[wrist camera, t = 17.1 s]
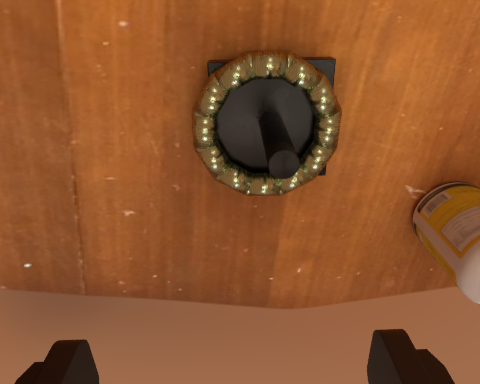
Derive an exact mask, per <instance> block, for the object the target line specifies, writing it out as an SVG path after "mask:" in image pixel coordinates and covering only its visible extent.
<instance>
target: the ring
mask: <svg viewBox="0 0 480 384" xmlns="http://www.w3.org/2000/svg"><path fill="white" fill-rule="evenodd" d="M254 79H283V80H284V81H286V82H287V83H289V84H291V85H292V86H294V87H295V88H297V89H299V90H300V91H302V92H304V93H305V94H306V97H307V99H308V101H309V103H310V105H311V107H312V109H313V111H314V113H315V115H316V120H315V130H314V140H313V142H312V144H311V145H310V146H309V148H308V149H307V151H306V152H305V153H304V155H303V156H302V158H301V159H300V167H299V170H298V171H297V173H296V174H295V175H294V176H292V177H290V178H288V179H278V178H276V177H274V176H273V175H272V174H271V173H251V172H249V171H247V170H245V169H243V168H241V167H239V166H238V165H236V164H234V163H232V162H230V160H229V159H228V157H227V156H226V154H225V152H224V151H223V149H222V148H221V146H220V144H219V143H218V137H217V116H218V114H219V112H220V111H221V109H222V107H223V105H224V103H225V102H226V100H227V98H228V96H229V94H230V93H232V92H234V91H235V90H237V89H239V88H240V87H242V86H244V85H245V84H247V83H249V82H251V81H252V80H254ZM341 116H342V110H341V107H340V105H339V102H338V100H337V98H336V96H335V93H334V91H333V89H332V87H331V84H330V82H329V80H328V78H327V76H326V75H325V73H323V72H322V71H320V70H319V69H317V68H316V67H314V66H313V65H311V64H309V63H308V62H306V61H305V60H303V59H302V58H300V57H299V56H297V55H296V54H294V53H292V52H289V51H249V52H246V53H244V54H242V55H241V56H239V57H237V58H236V59H234V60H232V61H231V62H229V63H227V64H226V65H224V66H223V67H221V68H219V69H218V70H216V71H214V72H213V73H212V74H211V75H210V76H209V78H208V80H207V82H206V84H205V86H204V88H203V89H202V91H201V93H200V95H199V97H198V99H197V101H196V103H195V105H194V107H193V109H192V126H193V143H194V149H195V151H196V153H197V154H198V156H199V157H200V159H201V160H202V162H203V163H204V165H205V166H206V168H207V169H208V171H209V172H210V174H211V175H212V177H213V178H214V179H215V180H217V181H218V182H220V183H222V184H224V185H226V186H228V187H230V188H232V189H234V190H236V191H238V192H240V193H242V194H244V195H247V196H280V195H284V194H286V193H288V192H290V191H292V190H294V189H296V188H298V187H300V186H302V185H304V184H306V183H308V182H310V181H312V180H314V179H315V178H316V177H317V175H318V174H319V173H320V171H321V170H322V169H323V167H324V166H325V165H326V163H327V162H328V161H329V159H330V158H331V157H332V155H333V154H334V153H335V151H336V149H337V146H338V138H339V131H340V123H341Z"/></svg>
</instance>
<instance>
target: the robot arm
mask: <svg viewBox="0 0 480 384" xmlns="http://www.w3.org/2000/svg"><path fill="white" fill-rule="evenodd" d="M367 376H368V382H369V384H455V383H454V381H453V380H452V378H451V376H450V375H449V373H448V371H447V369H446V368H445V366H444V365H443V364H442V363H441V362H440V361H438V359H437V358H435V357H434V356H433V355H432V354H431V353H430V352H429V351H428V350H427V349H418V350H416V349H415V347H414V345H413V343H412V342H411V340H410V338H409V336H408V334H407V333H406V331H404V330H403V329H389V330H375V331H374V333H373V338H372V342H371V348H370V353H369V359H368V365H367ZM15 384H99V375H98V372H97V369H96V365H95V362H94V359H93V356H92V353H91V350H90V346H89V344H88V342H87V340H59V341H57V342H55V343H54V344H53V346H52V347H51V349H50V351H49V353H48V355H47V357H46V358H45V360H44V362H35V363H34V364H32V365H31V366H30V367H29V368H28V369H27V370H26V372H24V373H23V374H22V375H21V376H20V377H19V378H18V379H17V381H16V382H15Z"/></svg>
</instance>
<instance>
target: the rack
mask: <svg viewBox="0 0 480 384" xmlns="http://www.w3.org/2000/svg"><path fill="white" fill-rule="evenodd" d="M302 59H303V60H305V61H306V62H308V63H309V64H311V65H313V66H314V67H316V68H317V69H319V70H320V71H322V72H323V73H325V75H326V76H327V78H328V80H329V82H330V84H331V87H332V89H333V84H334V73H335V62H336V59H335V58H333V57H306V58H302ZM231 61H232V60H209V61H208V78H209V76H210V75H211V74H212V73H213V72H214V71H216V70H218V69H219V68H221V67H223V66H224V65H226V64H227V63H229V62H231ZM315 120H316V115H315V113H314V111H313V109H312V107H311V105H310V103H309V101H308V99H307V97H306V94H305V93H304V92H302V91H300V90H299V89H297V88H295V87H294V86H292V85H291V84H289V83H287V82H286V81H284V80H283V79H254V80H252V81H251V82H249V83H247V84H245V85H244V86H242V87H240V88H239V89H237V90H235V91H234V92H232V93H230V94H229V96H228V98H227V100H226V102H225V103H224V105H223V107H222V109H221V111H220V112H219V114H218V116H217V137H218V143H219V144H220V146H221V148H222V149H223V151H224V152H225V154H226V156H227V157H228V159H229V160H230V162H232V163H234V164H236V165H238V166H239V167H241V168H243V169H245V170H247V171H249V172H251V173H271V174H272V175H273V176H274V177H276V178H278V179H288V178H290V177H292V176H294V175H295V174H296V173H297V171H298V170H299V167H300V159H301V158H302V156H303V155H304V153H305V152H306V151H307V149H308V148H309V146H310V145H311V144H312V142H313V140H314V130H315ZM325 173H326V165H325V166H324V167H323V169H322V170H321V171H320V173H319V174H318V175H317V176H319V175H325Z"/></svg>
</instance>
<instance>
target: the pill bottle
mask: <svg viewBox="0 0 480 384" xmlns="http://www.w3.org/2000/svg"><path fill="white" fill-rule="evenodd" d="M413 228H414V231H415V233H416V234H417V236H418V237H419V239H420V240H421V241H422V242H423V244H424V245H425V246H426V248H427V249H428V250H429V251H430V253H431V254H432V255H433V256H434V258H435V259H436V260H437V262H438V263H439V264H440V265H441V266H442V268H443V269H444V270H445V271H446V273H447V274H448V275H449V276H450V278H451V279H452V280H453V281H454V283H455V284H456V285H457V286H458V288H459V289H460V290H461V291H462V292H463V293H464V294H465V295H466V296H467V297H468V298H469V299H470V300H472V301H473V302H476V303H477V304H479V305H480V189H479V188H477V187H475V186H473V185H471V184H468V183H461V182H455V183H448V184H445V185H442V186H439V187H437V188H435V189H433V190H432V191H430V192H429V193H428V194H427V195H425V196H424V197H423V198H422V199H421V201H420V202H419V203H418V205H417V207H416V209H415V211H414V214H413Z"/></svg>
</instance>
